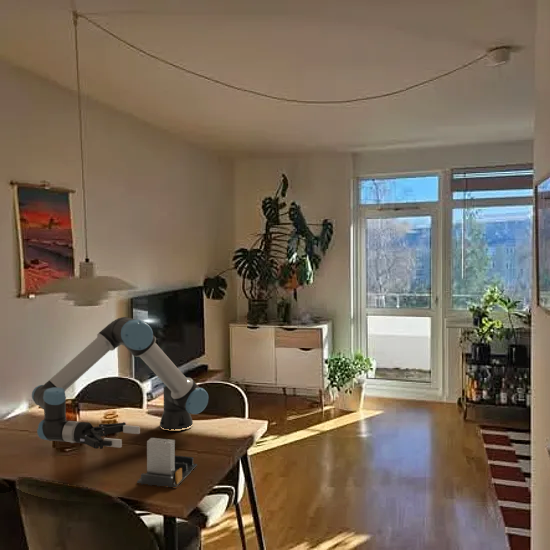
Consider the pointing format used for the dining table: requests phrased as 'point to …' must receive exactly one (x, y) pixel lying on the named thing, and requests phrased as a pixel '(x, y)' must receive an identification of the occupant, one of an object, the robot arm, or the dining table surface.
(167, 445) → the panel
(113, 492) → the dining table surface
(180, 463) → the rack
